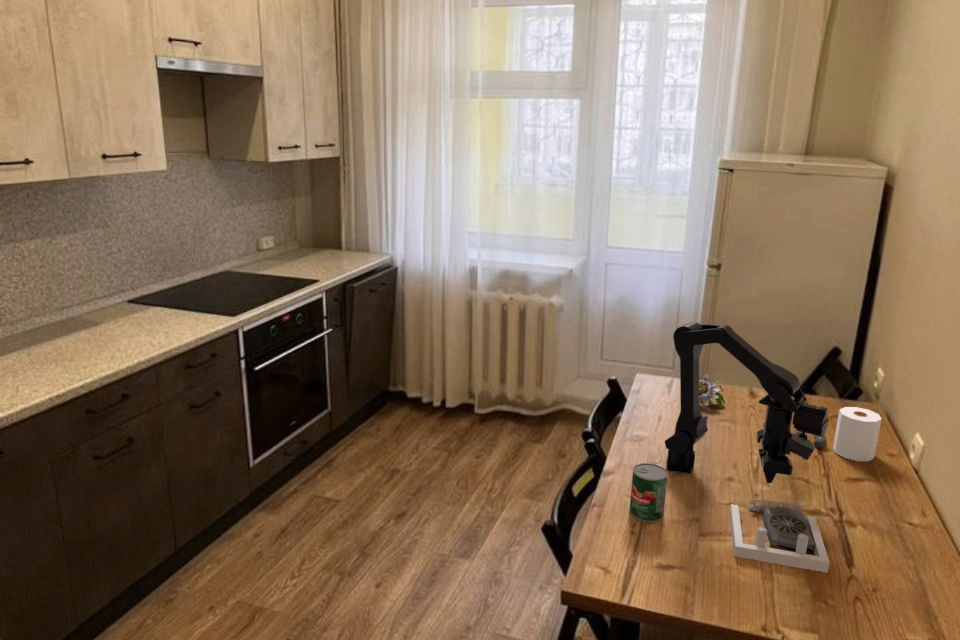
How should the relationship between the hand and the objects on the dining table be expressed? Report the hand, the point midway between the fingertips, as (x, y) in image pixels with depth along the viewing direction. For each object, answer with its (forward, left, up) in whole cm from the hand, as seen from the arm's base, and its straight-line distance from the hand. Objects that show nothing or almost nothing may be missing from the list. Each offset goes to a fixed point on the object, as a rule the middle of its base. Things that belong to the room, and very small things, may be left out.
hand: (768, 482), depth 170 cm
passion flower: (-14, +57, -4) cm, 59 cm away
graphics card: (+2, -15, -5) cm, 16 cm away
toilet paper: (+26, +33, -4) cm, 42 cm away
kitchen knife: (+18, +48, -5) cm, 51 cm away
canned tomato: (-28, -17, -4) cm, 33 cm away
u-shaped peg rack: (0, -19, -4) cm, 19 cm away
